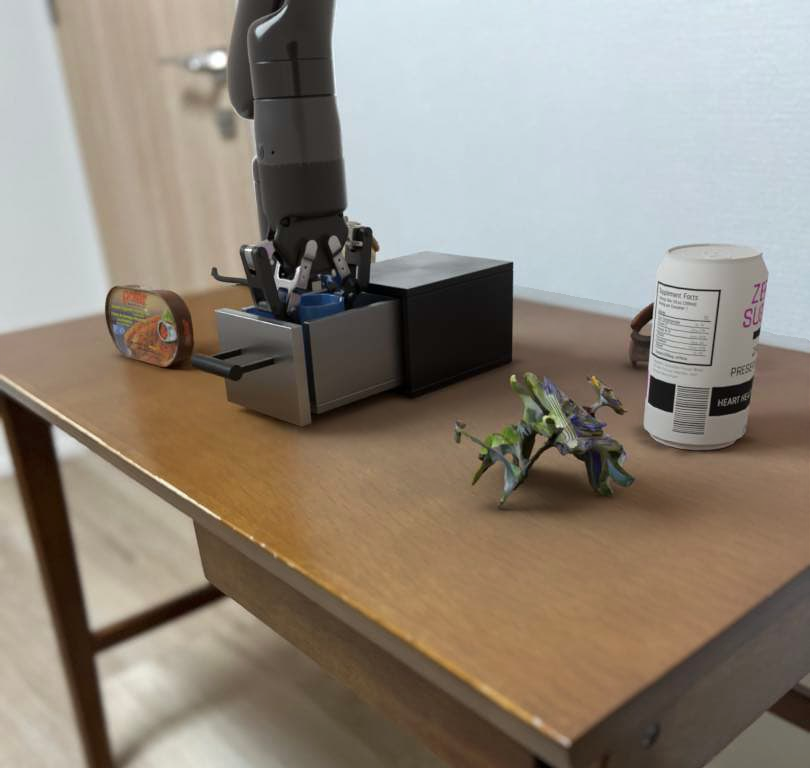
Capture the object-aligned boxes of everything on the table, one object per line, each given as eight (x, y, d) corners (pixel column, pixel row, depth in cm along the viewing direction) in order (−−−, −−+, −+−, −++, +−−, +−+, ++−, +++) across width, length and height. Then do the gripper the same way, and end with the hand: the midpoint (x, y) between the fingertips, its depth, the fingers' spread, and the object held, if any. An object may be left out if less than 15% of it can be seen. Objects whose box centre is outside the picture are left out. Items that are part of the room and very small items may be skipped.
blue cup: (280, 370, 84) (272, 301, 81) (324, 356, 88) (318, 291, 85) (317, 380, 81) (310, 309, 78) (361, 366, 84) (356, 297, 81)
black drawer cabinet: (412, 399, 86) (407, 289, 81) (328, 376, 94) (319, 274, 89) (512, 362, 95) (513, 261, 90) (428, 343, 103) (425, 250, 98)
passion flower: (591, 557, 67) (681, 466, 58) (466, 565, 63) (541, 469, 53) (544, 438, 72) (620, 337, 63) (425, 438, 68) (488, 330, 58)
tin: (110, 353, 106) (95, 282, 103) (132, 347, 108) (119, 277, 105) (181, 373, 97) (168, 296, 93) (204, 367, 99) (192, 291, 95)
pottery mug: (744, 382, 87) (719, 316, 82) (652, 420, 91) (623, 359, 86) (719, 322, 96) (695, 260, 91) (636, 359, 99) (609, 300, 95)
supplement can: (633, 419, 78) (648, 244, 71) (728, 417, 77) (751, 240, 71) (653, 454, 71) (672, 263, 64) (757, 451, 70) (787, 258, 63)
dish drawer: (256, 442, 75) (243, 340, 71) (184, 415, 82) (167, 321, 78) (415, 386, 86) (412, 295, 82) (339, 366, 94) (333, 282, 90)
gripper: (259, 164, 69) (283, 373, 77) (390, 149, 78) (399, 338, 86) (206, 162, 74) (233, 359, 82) (334, 148, 83) (348, 327, 90)
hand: (318, 347), depth 84 cm, fingers closed on blue cup, 5 cm apart
